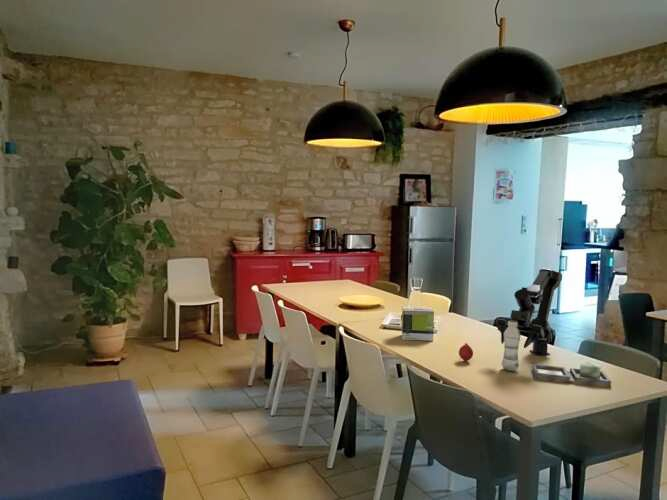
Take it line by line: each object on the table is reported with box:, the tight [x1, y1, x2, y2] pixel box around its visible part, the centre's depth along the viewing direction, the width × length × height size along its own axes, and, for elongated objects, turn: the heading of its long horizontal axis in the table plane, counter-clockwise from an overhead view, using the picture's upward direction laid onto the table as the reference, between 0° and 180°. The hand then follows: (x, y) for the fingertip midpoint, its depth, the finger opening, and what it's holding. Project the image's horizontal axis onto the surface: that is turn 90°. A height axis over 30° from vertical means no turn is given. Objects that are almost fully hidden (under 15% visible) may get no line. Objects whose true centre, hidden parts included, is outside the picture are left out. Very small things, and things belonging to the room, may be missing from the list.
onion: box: [458, 342, 474, 362], centre depth 217 cm, size 6×6×8 cm
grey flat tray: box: [531, 361, 612, 389], centre depth 199 cm, size 26×12×6 cm, turn 75°
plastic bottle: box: [501, 319, 521, 372], centre depth 206 cm, size 6×7×20 cm
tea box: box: [401, 306, 435, 342], centre depth 253 cm, size 15×10×15 cm, turn 84°
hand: (512, 345), depth 208 cm, fingers open, 9 cm apart
